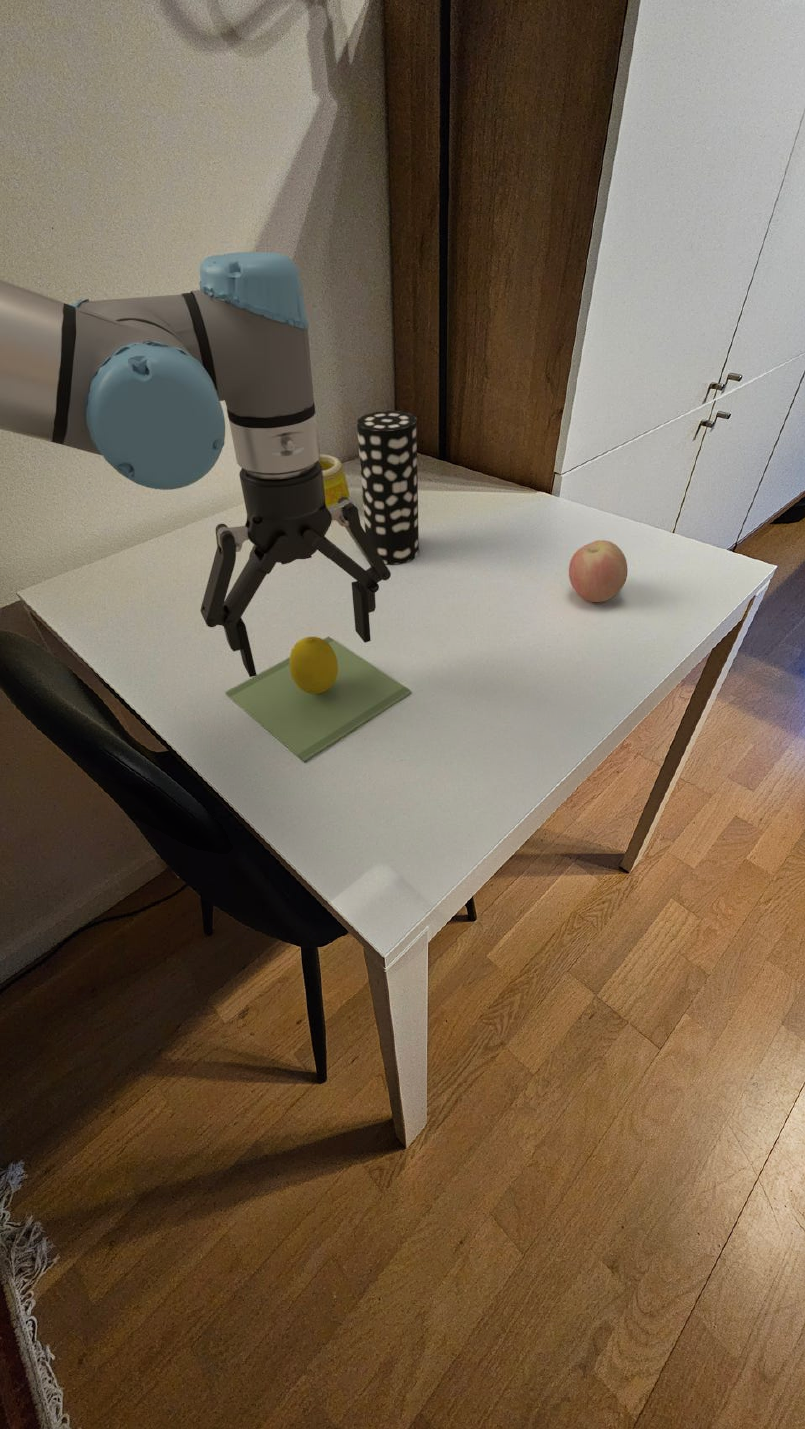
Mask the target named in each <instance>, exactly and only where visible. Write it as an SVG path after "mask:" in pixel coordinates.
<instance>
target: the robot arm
mask: <svg viewBox="0 0 805 1429" xmlns="http://www.w3.org/2000/svg"><path fill="white" fill-rule="evenodd" d="M199 276H200V281H199V283H198V284H199V289H196V290H190V292H182V293H181V294H180V293H179V294H167V295H156V296H155V295H154V296H153V295H152V296H141V297H140V296H139V297H128V298H126V297H125V298H114V299H101V300H90V299H89V298H83V299H78V300H77V302H74V303H65V302H63V301H62V300H59V299H56V298H55V297H52V296H48V295H45V294H43V293H40V292H37V291H35V290H32V289H29V288H26V287H24V286H21V285H18V284H15V283H13V282H10V281H7V280H4V279H2V278H0V430H2V431H6V432H10V433H14V434H18V435H21V436H26V437H30V438H33V439H38V440H42V441H44V442H45V441H46V442H50V443H54V444H57V445H62V446H66V447H69V448H73V449H75V450H80V451H83V452H88V453H91V454H94V455H99V456H102V457H103V459H104V460H105V461H106V462H107V463H108V464H109V465H110V466H111V468H113V469H114V470H115V471H116V472H117V473H119V474H120V475H122V477H125V478H126V479H128V480H129V481H131V482H133V483H135V484H137V485H139V486H142V487H145V488H148V489H154V490H160V491H161V490H162V491H166V490H167V491H170V490H178V489H182V488H186V487H188V486H191V485H193V484H195V483H197V482H198V481H200V480H201V479H203V478H204V477H206V475H208V473H209V472H210V471H211V470H212V469H213V468H214V467H215V465H216V463H217V461H218V460H219V458H220V455H221V453H222V451H223V448H224V446H225V438H226V419H225V415H224V410H223V406H222V403H221V402H223V401H224V403H225V406H226V412H227V418H228V422H229V427H230V434H231V438H232V439H231V440H232V444H233V449H234V454H235V460H236V464H237V465H238V466H239V467H240V468H241V469H240V471H239V473H238V474H239V481H240V485H241V490H242V491H241V492H242V495H243V501H244V507H245V511H246V512H245V513H246V521H245V523H244V525H241V526H240V525H239V526H231V527H228V525H227V524H225V523H219V524H217V525H216V527H215V530H214V531H215V538H216V549H215V554H214V557H213V560H212V565H211V569H210V573H209V576H208V580H207V583H206V588H205V591H204V595H203V599H202V602H201V606H200V614H201V617H202V618H203V620H204V622H205V624H206V626H207V627H209V628H215V627H216V626H222V627H223V630H224V633H225V634H224V635H225V638H226V642H227V643H228V646H229V648H230V650H231V651H232V652H238V651H239V652H240V656H241V657H240V658H241V660H242V664H243V666H244V668H245V671H246V673H247V674H248V676H249V678H252V677H254V676H256V675H258V674H257V669H256V666H255V661H254V657H253V652H252V649H251V644H250V640H249V639H250V638H249V635H248V630H247V626H246V624H245V622H244V620H243V619H242V617H243V615H244V613H245V611H246V610H247V608H248V606H249V605H250V603H251V601H252V599H253V598H254V597H255V595H256V593H257V591H258V590H259V588H260V586H261V584H262V583H263V581H264V580H265V578H266V576H267V575H269V574H271V572H272V571H273V569H274V568H275V566H276V564H277V563H278V564H279V563H280V564H281V565H282V566H283V565H287V564H290V563H292V562H295V561H297V560H307V559H312V557H313V556H312V555H314V554H315V553H316V552H317V551H318V552H319V553H321V555H323V556H324V557H326V558H327V559H329V560H331V561H332V562H333V563H334V564H336V566H338V567H339V568H341V569H342V571H344V572H345V573H347V574H348V575H349V576H350V577H351V578H353V579H354V580H355V581H352V582H351V593H352V595H351V596H352V604H353V606H352V607H353V617H354V629H355V631H354V632H356V633H357V635H358V636H359V638H360V639H361V640H362V641H363V643H369V642H371V641H372V640H371V626H370V625H371V624H370V613H373V612H375V610H376V607H377V605H376V603H377V602H376V593H377V592H378V591H379V589H380V585H379V583H380V582H381V581H388V580H389V579H390V578H391V576H392V572H391V571H390V570H389V568H388V565H387V564H385V563H384V561H383V560H382V558H381V557H380V555H379V553H378V552H377V550H376V549H375V547H374V545H373V544H372V542H371V541H370V539H369V537H368V536H367V534H366V533H365V528H363V526H362V524H361V518H360V513H359V509H358V507H357V506H356V505H355V504H354V503H353V502H352V501H351V500H350V499H349V497H348V498H346V497H341V498H340V499H339V500H338V504H335V505H332V506H330V507H326V504H325V492H324V482H323V473H322V466H321V464H320V463H319V462H318V459H319V457H320V454H321V447H320V438H319V429H318V419H317V411H316V405H315V404H316V403H315V397H314V387H313V386H314V385H313V375H312V373H313V372H312V362H311V351H310V339H309V329H310V325H309V321H308V319H307V312H306V306H305V300H304V299H305V298H304V293H303V287H302V282H301V276H300V271H299V269H298V267H297V265H296V263H295V262H294V261H293V259H292V258H290V257H289V256H286V255H285V254H282V253H278V252H272V251H241V252H240V251H239V252H230V253H226V254H214V255H209V256H207V257H205V258H204V259H203V260H202V261H201V263H200V264H199ZM333 521H335V522H337V524H338V525H339V526H341V527H344V529H346V531H347V533H348V534H349V536H350V537H351V539H352V540H353V541H354V543H355V545H356V546H357V548H358V550H359V551H360V552H361V554H362V556H363V557H364V558H365V560H366V562H367V564H368V565H369V566H370V567H369V568H367V569H364V568H363V567H362V566H361V565H360V564H359V563H357V562H356V561H355V560H354V559H353V558H351V557H350V556H349V555H347V553H345V552H344V551H343V550H342V549H340V548H339V547H338V546H337V545H336V544H334V543H333V542H332V541H331V540H330V539H328V538H327V537H326V535H327V533H328V531H329V528H330V527H331V526H332V522H333ZM245 541H250V543H251V544H252V545H253V546H252V548H251V549H250V552H249V556H248V559H247V562H246V563H245V565H244V566H243V568H242V570H241V572H240V574H239V575H238V577H237V579H236V580H235V582H234V584H233V586H232V588H231V589H230V590H229V586H230V582H231V579H232V575H233V572H234V569H235V566H236V561H237V553H239V552H240V551H242V549H243V544H244V543H245ZM228 590H229V593H228ZM227 593H228V594H227Z"/></svg>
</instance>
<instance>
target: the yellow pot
mask: <svg viewBox="0 0 805 1429" xmlns="http://www.w3.org/2000/svg"><path fill="white" fill-rule="evenodd" d="M318 462H319V463H320V464H321V466H322V473H323V482H324V492H325V504H326V507H330V506H332V505H335V504H338V500H339V499H340V498H341V497H346V498H348V499H349V497H350V491H349V485H348V481H347V478H346V474H345V473H344V471H343V468H344V467H343V462H342V461H341V460H340V459H339V458H337V457H335V456H333V455H329V454H322V453H320V457H319V459H318Z"/></svg>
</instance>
